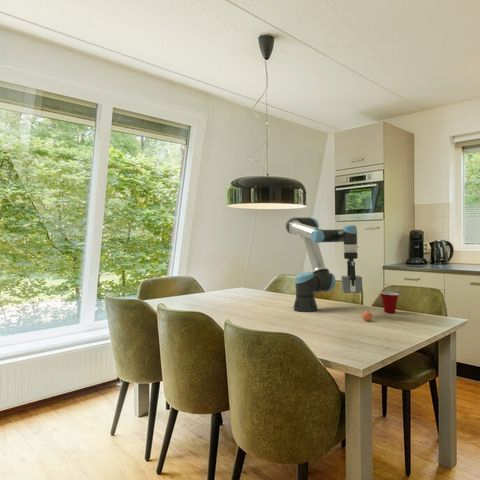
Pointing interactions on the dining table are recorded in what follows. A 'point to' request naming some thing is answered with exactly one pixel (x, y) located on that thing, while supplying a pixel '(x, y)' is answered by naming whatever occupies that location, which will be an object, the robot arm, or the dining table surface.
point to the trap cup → (347, 284)
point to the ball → (367, 316)
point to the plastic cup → (389, 301)
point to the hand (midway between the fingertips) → (351, 290)
